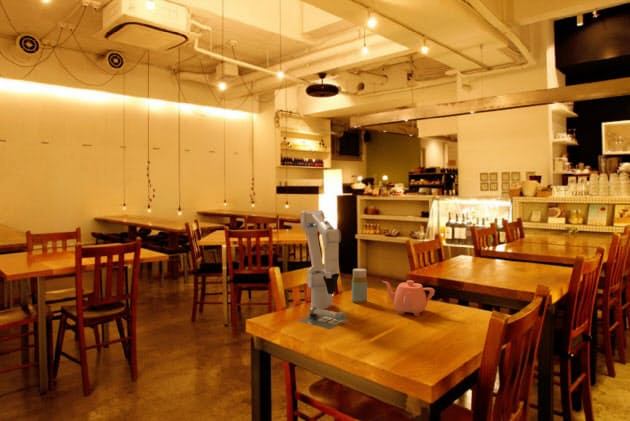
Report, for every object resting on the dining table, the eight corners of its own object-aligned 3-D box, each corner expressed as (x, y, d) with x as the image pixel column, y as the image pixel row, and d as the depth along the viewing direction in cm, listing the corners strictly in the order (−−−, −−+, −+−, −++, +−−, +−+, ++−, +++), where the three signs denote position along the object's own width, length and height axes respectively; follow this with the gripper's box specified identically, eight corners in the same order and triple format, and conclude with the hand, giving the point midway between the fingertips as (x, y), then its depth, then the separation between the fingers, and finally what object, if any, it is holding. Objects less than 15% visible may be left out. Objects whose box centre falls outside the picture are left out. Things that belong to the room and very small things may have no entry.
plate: (317, 314, 181) (317, 311, 181) (350, 321, 171) (350, 318, 171) (296, 322, 170) (296, 319, 170) (329, 331, 160) (329, 328, 160)
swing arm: (307, 315, 174) (307, 307, 174) (312, 313, 177) (312, 305, 177) (340, 323, 164) (340, 314, 164) (345, 321, 167) (345, 312, 167)
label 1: (325, 317, 174) (325, 316, 174) (332, 318, 172) (332, 318, 172) (317, 320, 170) (317, 319, 170) (324, 322, 168) (324, 321, 168)
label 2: (335, 319, 171) (335, 318, 171) (342, 321, 169) (342, 320, 169) (328, 322, 167) (328, 321, 167) (335, 324, 165) (335, 323, 165)
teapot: (407, 320, 173) (407, 286, 172) (381, 309, 188) (381, 278, 187) (437, 314, 181) (437, 282, 180) (410, 305, 196) (410, 275, 195)
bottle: (349, 302, 199) (349, 270, 198) (355, 299, 205) (355, 267, 204) (363, 304, 196) (363, 271, 195) (369, 301, 202) (369, 269, 201)
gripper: (324, 256, 182) (324, 288, 183) (318, 261, 168) (318, 296, 169) (341, 256, 181) (341, 289, 181) (336, 262, 167) (336, 297, 167)
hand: (331, 292), depth 175 cm, fingers open, 4 cm apart
